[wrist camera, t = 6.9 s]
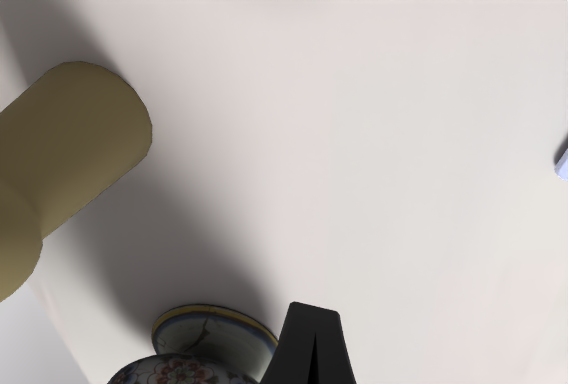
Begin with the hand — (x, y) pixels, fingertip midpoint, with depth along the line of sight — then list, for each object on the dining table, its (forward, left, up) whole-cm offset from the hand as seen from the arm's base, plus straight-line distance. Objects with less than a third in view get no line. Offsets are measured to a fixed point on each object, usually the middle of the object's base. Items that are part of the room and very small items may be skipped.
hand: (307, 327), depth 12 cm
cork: (+12, +1, -11) cm, 16 cm away
